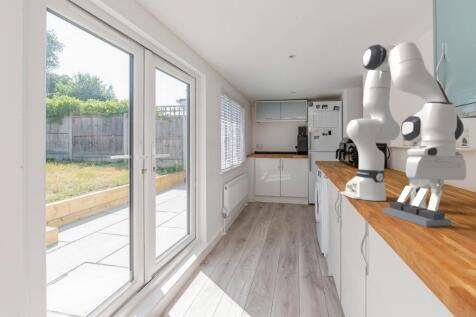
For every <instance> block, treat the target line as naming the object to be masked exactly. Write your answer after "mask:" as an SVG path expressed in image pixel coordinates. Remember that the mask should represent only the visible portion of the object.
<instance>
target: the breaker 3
mask: <svg viewBox="0 0 476 317" xmlns="http://www.w3.org/2000/svg"><path fill="white" fill-rule="evenodd" d="M442 194H443V190H441V189H440V193H439V194H433V193H431V195H430V198H429V201H428V206H427V210H432V211H436V212H438V209H439V206H440V201H441V198H442Z"/></svg>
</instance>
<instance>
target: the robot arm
mask: <svg viewBox="0 0 476 317" xmlns="http://www.w3.org/2000/svg"><path fill="white" fill-rule="evenodd" d="M362 66H363V67H364V68H365V69H366V70H368V71H367V74H366V77H365V78H366V79H365V83H364V89H363V99H362V105H363V109H365V110H366V111H368V113H369V115H370V118H367V117H366V118H355V119H352V120H350V121H348V124H347V126H346V129H345V131H346V136H348V138H349V139H350V140H352V142H353V143H354V145H355V146H356V150H357V152H358V153H357V154H358V169H355V170H354V172H355V176H354V177H352V178H351V179H350V180H349V181H347V182H346V184H345V190H342V191H340V194H341V195H344V196H347V197H349V198H351V199H353V200H356V199H357V200H364V201H376V202H377V201H379V202H381V201H382V202H385V201H387V195H386V184H385V180H384V179H385V178H386V176H385V175H386V173H385V172H386V171H385V153H384V152H383V151H382V150H380V149H379V148H378V146H377V144H376V142H381V143H386V142H391V141H395V140H396V139H398V138H399V136H400V134H401V136H402V137H403V138H404V140H406V141H408V142H411V143H420V145H417V146H415V147H412V148H409V149H407V153H406V154H407V156H408V157H407V159H406V163H405V175H406V177H407V178H408V180H409V179H416V180H428V183H429V188H430V193H431V194H432V193H433V194H439V193H440V190H441V188H442V187H443V185H444V184H445V181H447V180H448V181H454V180H455V181H464V180H465V179H466V178H467V166H466V160H465V159H464V158H465V157H464V155H463V154H462V153H461V152H460V151H456V146H457V145H456V144H457V141H458V140H459V139H460V137H462V135H463V133H464V130H465V129H464V128H465V127H464V123H463V121H462V120H461V118H460V117H459V116H458V115H457V109H456V104H455V103H453V102H452V101H450V100H449V98H448V96H447V93H446V91H445V90H444V88H443V85H442V84H441V83H440V81H439V80H438V79H437V78H435V77H434V76H433V75H432V74H431V73H430V72H429V70H428V68H427V66H426V64H425V62H424V58H423V56H422V53H421V51H420V49H419V48H418V46H417V44H415V43H414V42H413V41H412V42H411V41H404V42H401V43H398V44H397V43H393V44H392V43H391V44H374V45H370V46H369V47H368V48H366V50H365V51H364V53H363V56H362ZM391 83H392V84H393V85H394V87H395V88H396V89H398V90H399V91H401V92H404V93H408V94H411V95H415V96H417V97H419V98H422V99H423V100H424V101H425V102H426V103H424V105H423V107H422V108H421V110H419V111H417V113H415V114H413V115H410V116H408V117H406V118H405V119H404V120H403V121H402V123H401V126H400V125H399V123H398V122H397V121H396V120H395V118H394V117H393V115H392V112H391V109H390V98H391V97H390V96H391V85H392V84H391Z"/></svg>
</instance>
